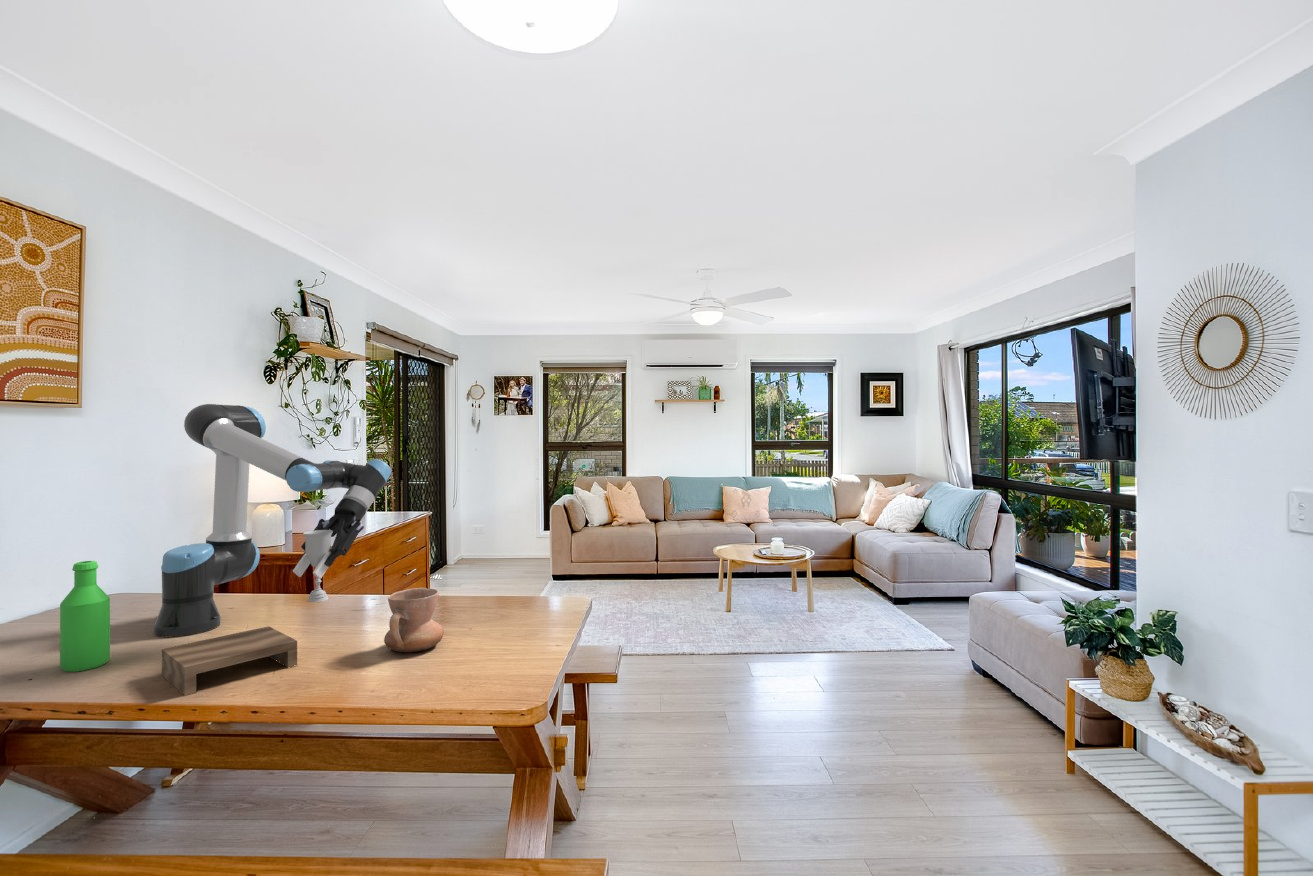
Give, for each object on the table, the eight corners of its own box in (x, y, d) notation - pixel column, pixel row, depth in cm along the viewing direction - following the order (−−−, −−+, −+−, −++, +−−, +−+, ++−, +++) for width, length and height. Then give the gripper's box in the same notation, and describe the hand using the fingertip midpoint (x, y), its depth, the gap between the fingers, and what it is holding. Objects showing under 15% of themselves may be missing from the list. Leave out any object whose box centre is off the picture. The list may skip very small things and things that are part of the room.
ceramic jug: (410, 635, 170) (409, 584, 170) (457, 638, 167) (456, 586, 166) (365, 659, 153) (364, 602, 152) (416, 663, 149) (415, 605, 149)
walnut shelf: (161, 675, 141) (161, 649, 141) (268, 649, 158) (268, 626, 158) (184, 695, 130) (184, 667, 130) (297, 665, 147) (297, 640, 147)
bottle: (66, 676, 141) (66, 567, 141) (54, 668, 145) (54, 563, 145) (116, 664, 148) (115, 560, 148) (102, 657, 153) (102, 557, 153)
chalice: (318, 604, 159) (319, 534, 159) (296, 602, 160) (296, 533, 160) (338, 596, 166) (339, 530, 166) (316, 595, 167) (317, 529, 167)
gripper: (388, 515, 175) (344, 585, 159) (334, 512, 180) (286, 580, 165) (375, 498, 170) (328, 569, 154) (320, 495, 175) (269, 564, 159)
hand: (306, 574), depth 160 cm, fingers closed on chalice, 6 cm apart
